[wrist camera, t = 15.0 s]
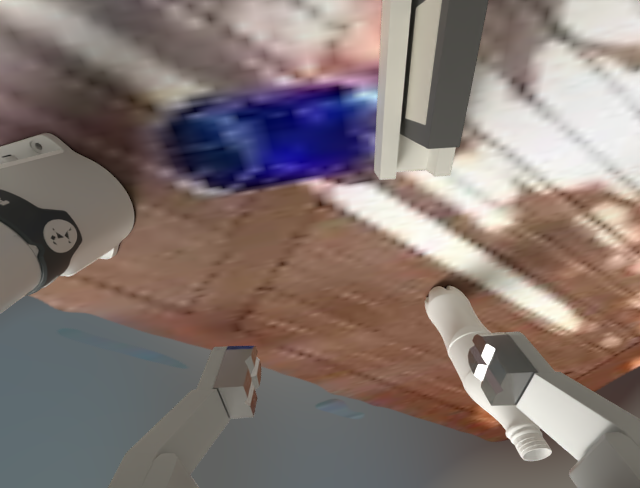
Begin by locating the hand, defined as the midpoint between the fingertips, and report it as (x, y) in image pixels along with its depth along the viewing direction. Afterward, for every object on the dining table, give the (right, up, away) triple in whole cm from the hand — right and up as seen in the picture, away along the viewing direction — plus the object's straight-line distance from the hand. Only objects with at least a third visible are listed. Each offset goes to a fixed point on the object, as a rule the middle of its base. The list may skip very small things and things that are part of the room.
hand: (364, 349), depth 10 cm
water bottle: (+21, -6, +40) cm, 45 cm away
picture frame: (+10, +24, +21) cm, 33 cm away
